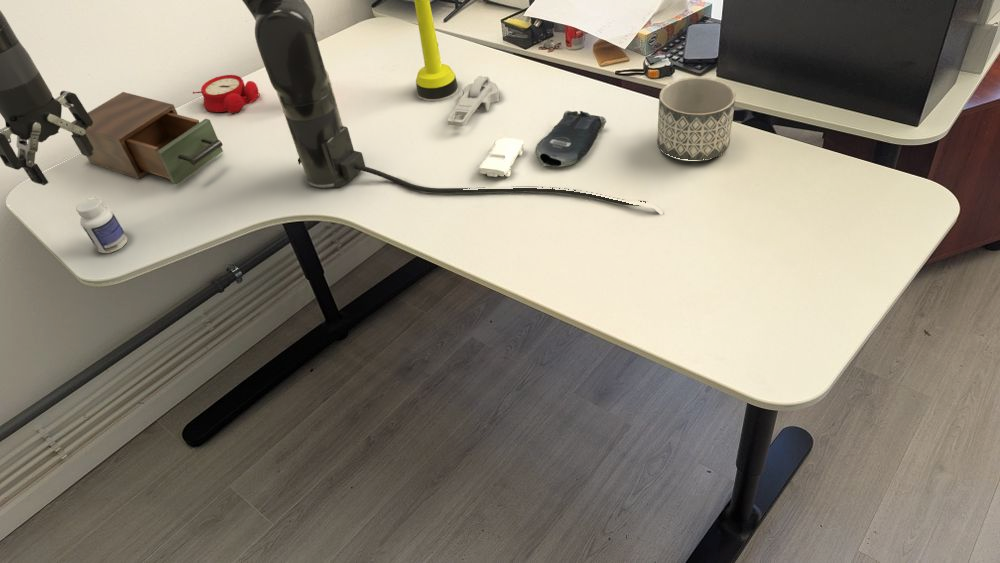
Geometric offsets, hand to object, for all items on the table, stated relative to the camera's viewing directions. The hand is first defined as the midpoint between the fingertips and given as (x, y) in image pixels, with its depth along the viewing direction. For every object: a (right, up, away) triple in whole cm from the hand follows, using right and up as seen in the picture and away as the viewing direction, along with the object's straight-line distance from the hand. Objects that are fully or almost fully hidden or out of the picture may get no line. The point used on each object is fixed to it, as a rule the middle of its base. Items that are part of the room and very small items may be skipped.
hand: (66, 168), depth 117 cm
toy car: (+71, +3, +17) cm, 73 cm away
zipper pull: (+65, +16, +32) cm, 74 cm away
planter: (+105, +6, +14) cm, 106 cm away
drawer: (+7, +5, +27) cm, 28 cm away
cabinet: (-4, +8, +33) cm, 34 cm away
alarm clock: (+10, +22, +45) cm, 51 cm away
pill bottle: (+2, -12, +11) cm, 16 cm away
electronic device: (+83, +7, +19) cm, 85 cm away
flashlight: (+57, +23, +40) cm, 73 cm away
